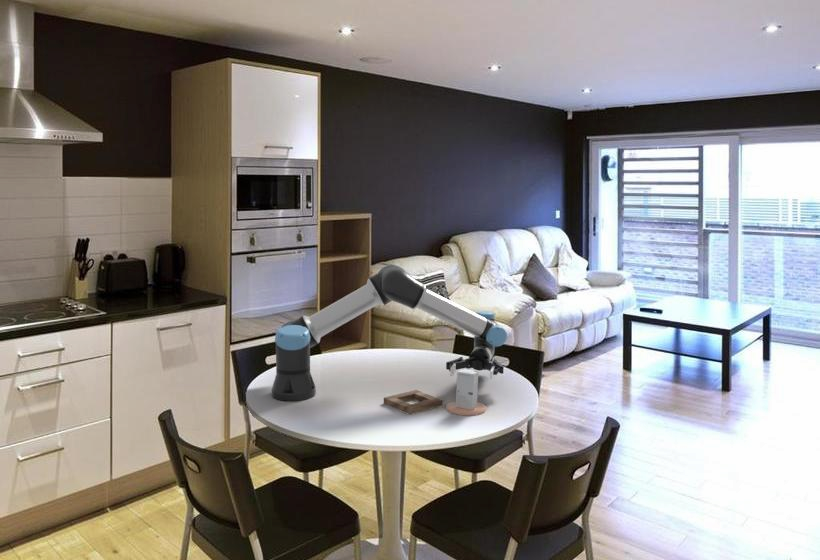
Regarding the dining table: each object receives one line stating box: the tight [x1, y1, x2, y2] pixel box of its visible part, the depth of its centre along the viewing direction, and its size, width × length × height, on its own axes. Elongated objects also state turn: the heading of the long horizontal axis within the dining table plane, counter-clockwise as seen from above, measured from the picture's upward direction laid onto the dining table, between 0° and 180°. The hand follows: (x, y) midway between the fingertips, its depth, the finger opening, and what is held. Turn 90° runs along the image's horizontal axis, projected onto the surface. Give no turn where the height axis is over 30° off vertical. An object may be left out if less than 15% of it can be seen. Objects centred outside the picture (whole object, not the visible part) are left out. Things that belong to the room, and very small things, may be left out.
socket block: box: [383, 389, 444, 415], centre depth 220 cm, size 14×14×2 cm
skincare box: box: [455, 368, 479, 410], centre depth 215 cm, size 6×4×12 cm
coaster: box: [445, 400, 487, 416], centre depth 216 cm, size 13×13×1 cm
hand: (471, 373), depth 224 cm, fingers open, 13 cm apart
